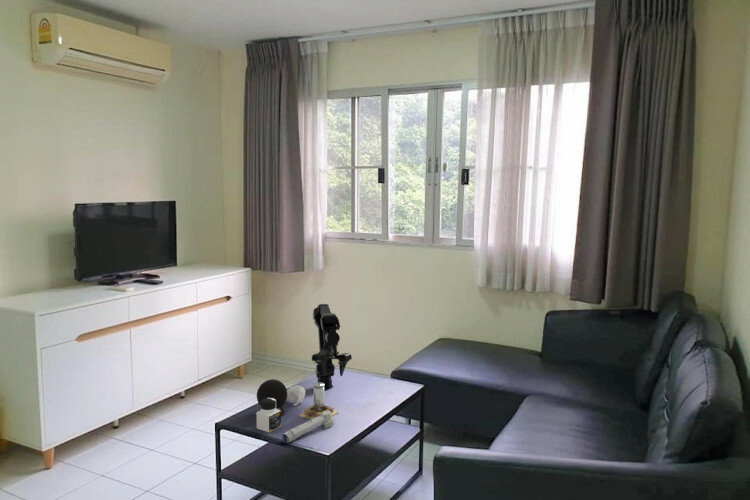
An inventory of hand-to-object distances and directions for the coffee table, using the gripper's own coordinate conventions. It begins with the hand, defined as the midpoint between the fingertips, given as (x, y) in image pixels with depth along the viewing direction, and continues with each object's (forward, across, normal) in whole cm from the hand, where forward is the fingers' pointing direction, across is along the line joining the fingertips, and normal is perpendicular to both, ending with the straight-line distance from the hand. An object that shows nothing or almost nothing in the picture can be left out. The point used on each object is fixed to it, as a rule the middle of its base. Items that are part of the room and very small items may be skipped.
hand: (332, 375), depth 250 cm
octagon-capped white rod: (+16, +8, -32) cm, 36 cm away
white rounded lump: (+11, -17, -10) cm, 23 cm away
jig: (+14, +2, -15) cm, 21 cm away
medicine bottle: (+14, -9, -36) cm, 40 cm away
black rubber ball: (+12, -17, -24) cm, 32 cm away
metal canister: (+13, +2, -15) cm, 20 cm away
